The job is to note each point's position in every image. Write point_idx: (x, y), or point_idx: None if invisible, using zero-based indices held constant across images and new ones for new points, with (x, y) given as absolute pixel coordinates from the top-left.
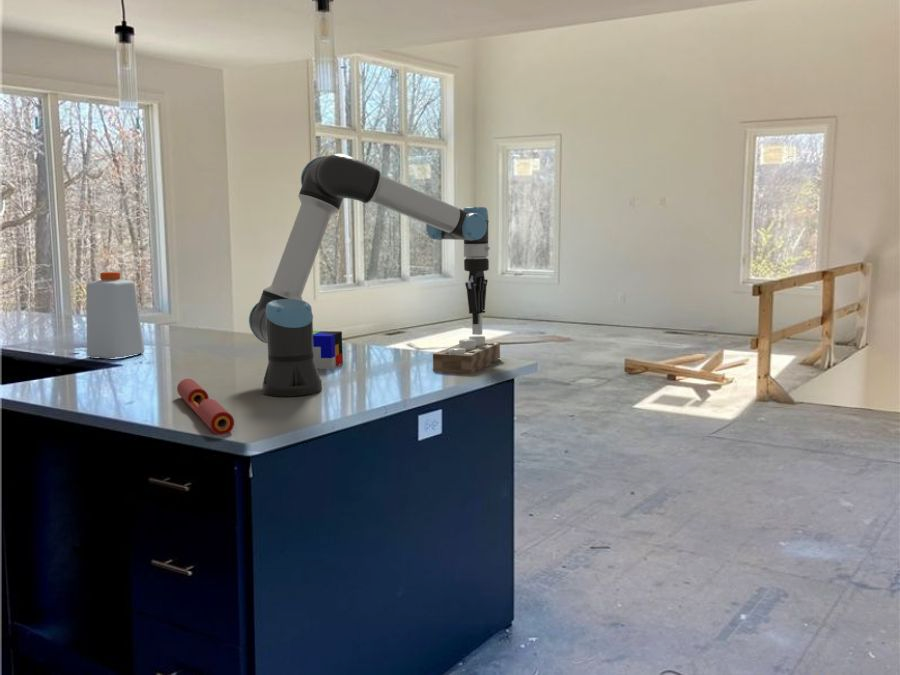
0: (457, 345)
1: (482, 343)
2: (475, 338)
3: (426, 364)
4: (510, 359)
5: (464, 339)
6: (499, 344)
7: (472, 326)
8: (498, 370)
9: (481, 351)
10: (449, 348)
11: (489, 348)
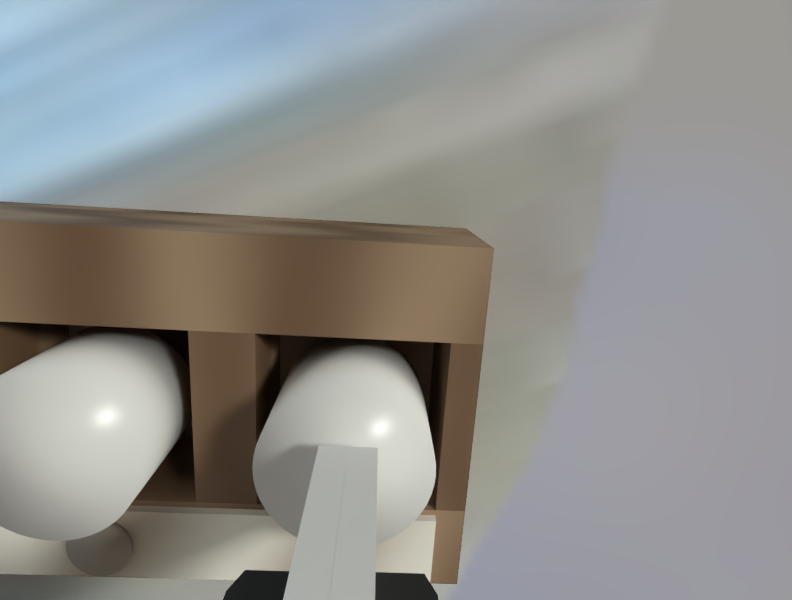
0: (250, 258)
1: None
2: (255, 479)
3: (57, 19)
4: (470, 550)
5: (103, 408)
6: (448, 580)
7: (303, 512)
8: (63, 589)
9: (3, 569)
10: (32, 245)
11: (195, 575)
